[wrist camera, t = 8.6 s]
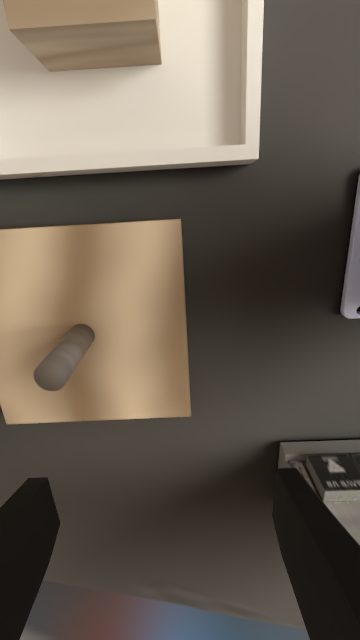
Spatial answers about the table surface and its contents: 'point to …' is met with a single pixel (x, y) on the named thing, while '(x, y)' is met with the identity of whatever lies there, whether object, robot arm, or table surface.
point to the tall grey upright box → (330, 475)
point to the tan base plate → (93, 322)
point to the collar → (87, 32)
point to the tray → (139, 100)
